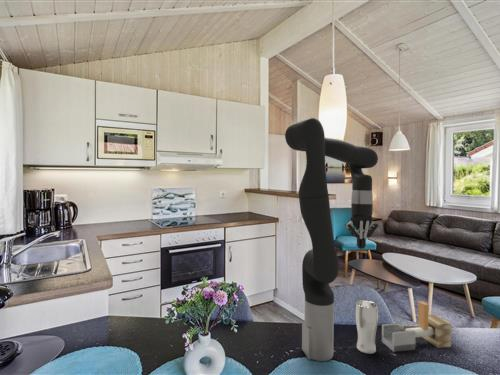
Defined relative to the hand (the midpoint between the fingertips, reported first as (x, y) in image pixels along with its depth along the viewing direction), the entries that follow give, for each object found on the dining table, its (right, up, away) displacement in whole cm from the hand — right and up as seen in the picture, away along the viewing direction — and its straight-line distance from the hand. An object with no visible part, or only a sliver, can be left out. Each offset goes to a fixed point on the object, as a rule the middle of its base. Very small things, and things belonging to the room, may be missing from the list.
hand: (361, 248), depth 110 cm
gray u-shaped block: (+9, -31, -10) cm, 34 cm away
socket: (+23, -31, -8) cm, 40 cm away
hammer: (+18, -29, -9) cm, 35 cm away
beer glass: (-3, -31, -13) cm, 34 cm away
